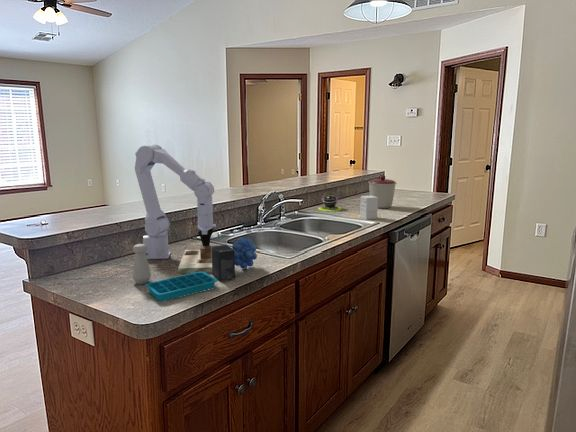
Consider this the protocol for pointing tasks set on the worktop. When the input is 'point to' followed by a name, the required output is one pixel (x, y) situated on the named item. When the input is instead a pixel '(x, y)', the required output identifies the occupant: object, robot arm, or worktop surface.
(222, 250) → the box
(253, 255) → the grapes
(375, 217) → the supplement box
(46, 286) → the worktop surface
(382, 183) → the canister
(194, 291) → the ice cube tray
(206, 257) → the walnut block
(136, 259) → the salt shaker
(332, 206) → the toy cauldron
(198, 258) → the board
